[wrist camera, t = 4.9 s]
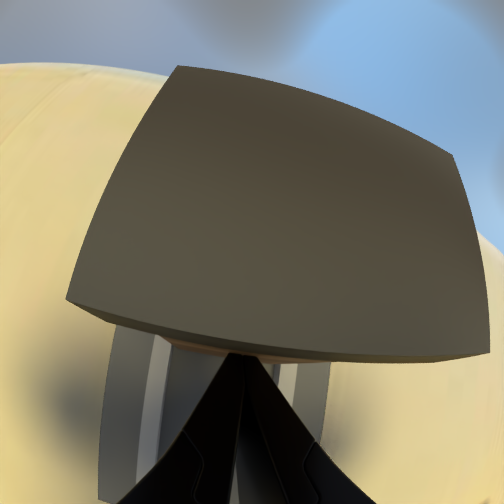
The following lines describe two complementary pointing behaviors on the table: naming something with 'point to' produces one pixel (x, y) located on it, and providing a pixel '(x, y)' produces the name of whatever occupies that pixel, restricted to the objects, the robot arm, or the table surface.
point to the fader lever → (284, 231)
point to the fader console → (175, 404)
